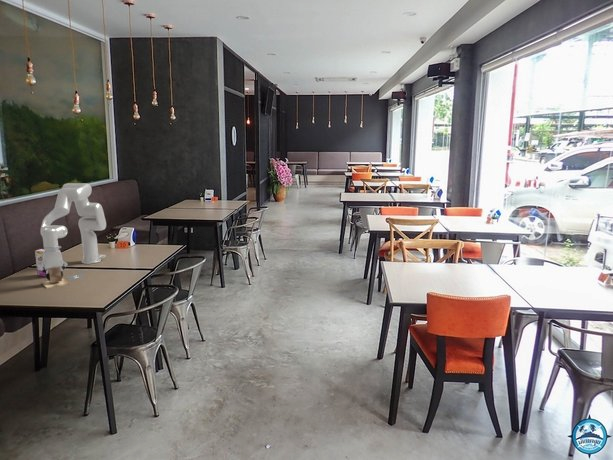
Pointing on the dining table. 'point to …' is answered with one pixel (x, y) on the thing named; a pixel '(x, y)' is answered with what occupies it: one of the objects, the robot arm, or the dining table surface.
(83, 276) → the tile
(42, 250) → the candy bar box
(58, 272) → the walnut block
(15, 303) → the dining table surface
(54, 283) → the cork pad
